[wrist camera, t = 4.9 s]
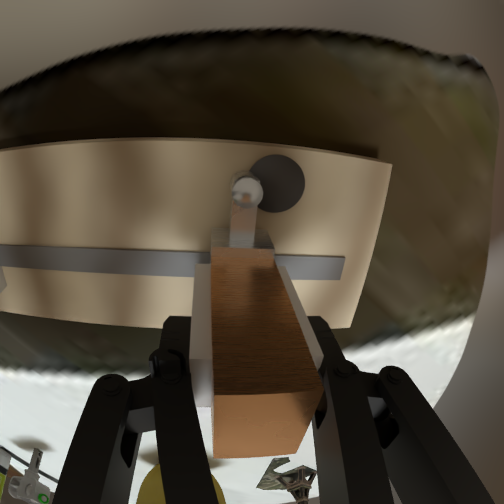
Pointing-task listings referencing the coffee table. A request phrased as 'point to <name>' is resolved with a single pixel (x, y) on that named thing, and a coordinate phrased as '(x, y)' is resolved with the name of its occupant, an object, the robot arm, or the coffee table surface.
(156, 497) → the flower pot
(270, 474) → the eiffel tower figurine
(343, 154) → the gauge board
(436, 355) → the coffee table surface
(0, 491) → the tea box
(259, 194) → the slide leg
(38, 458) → the mechanical component
